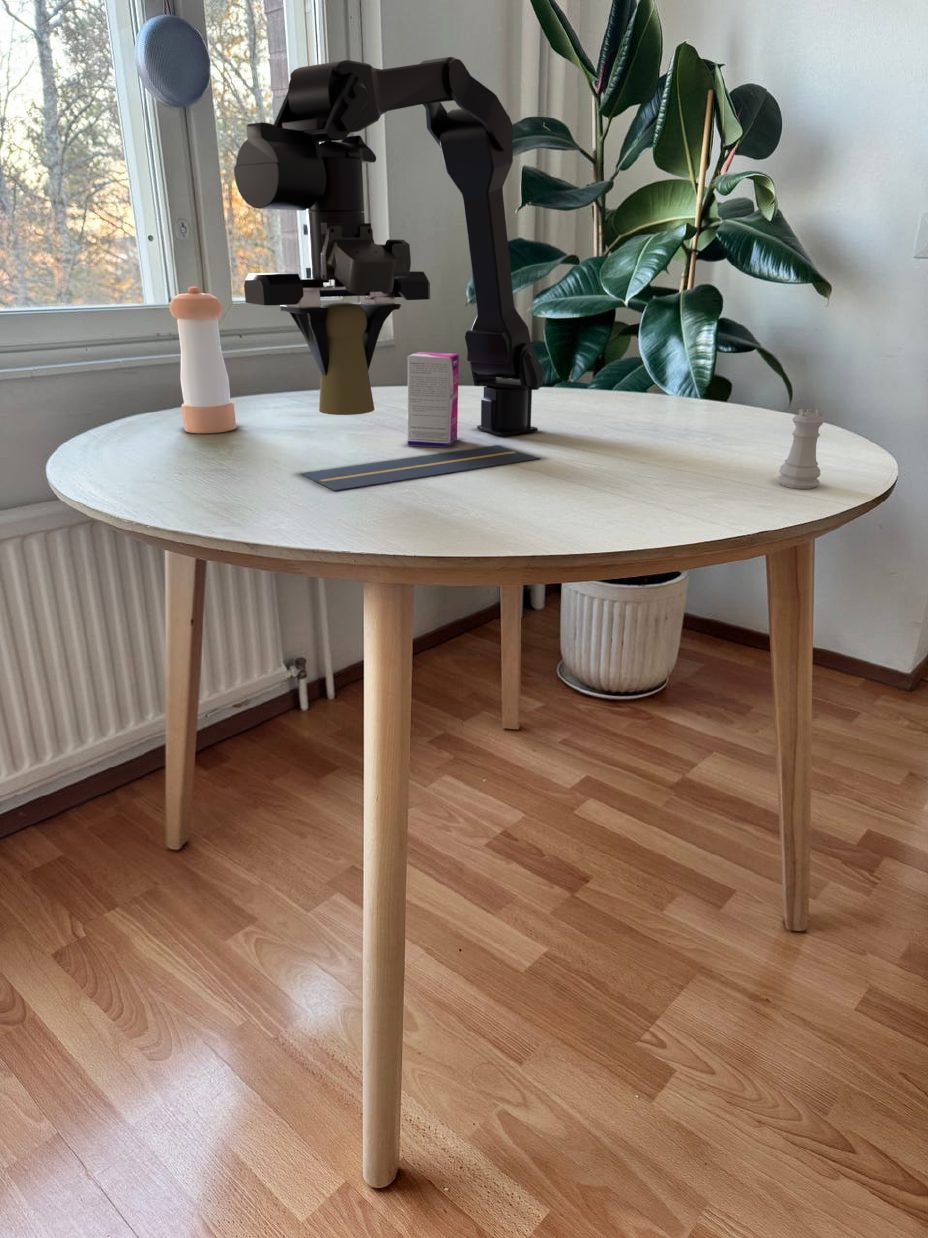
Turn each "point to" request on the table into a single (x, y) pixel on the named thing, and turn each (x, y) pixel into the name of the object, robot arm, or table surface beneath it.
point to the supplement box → (432, 399)
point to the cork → (346, 362)
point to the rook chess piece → (803, 452)
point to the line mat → (416, 467)
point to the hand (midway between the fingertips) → (345, 373)
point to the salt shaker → (202, 364)
